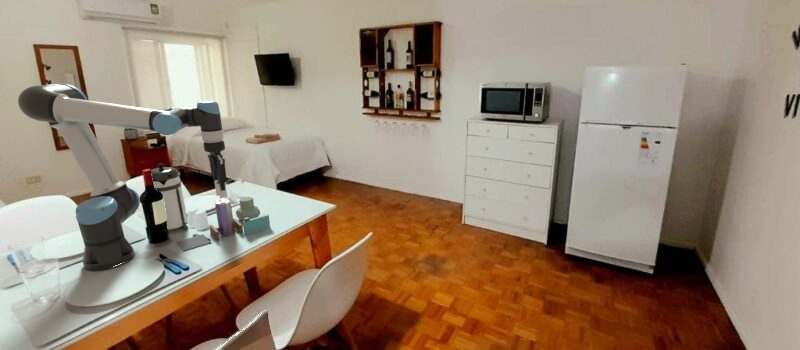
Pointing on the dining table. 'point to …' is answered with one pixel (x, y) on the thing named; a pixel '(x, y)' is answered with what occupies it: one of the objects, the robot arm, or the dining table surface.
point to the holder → (215, 231)
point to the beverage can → (225, 217)
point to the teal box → (255, 224)
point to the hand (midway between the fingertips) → (221, 195)
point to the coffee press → (171, 195)
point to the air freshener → (247, 209)
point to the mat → (193, 242)
